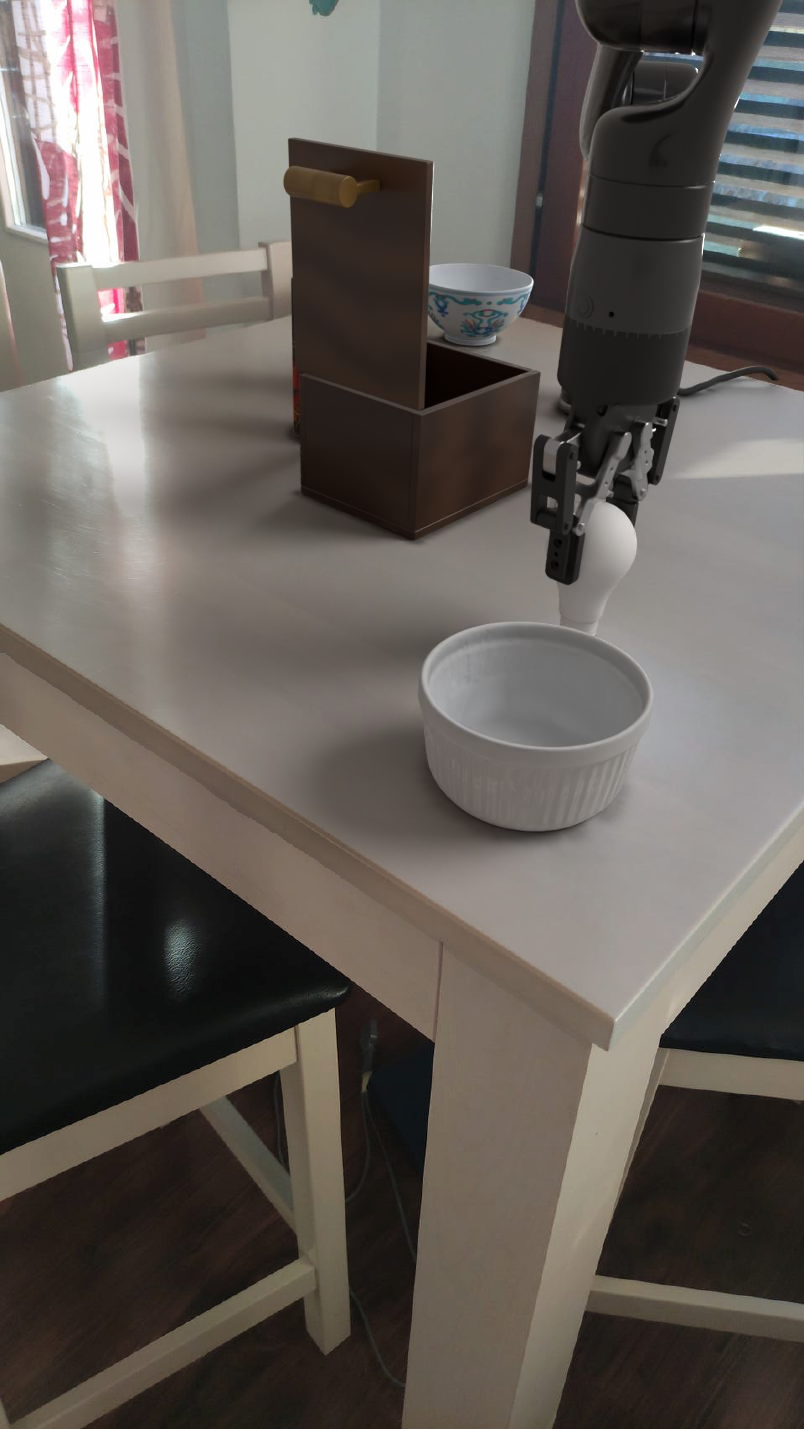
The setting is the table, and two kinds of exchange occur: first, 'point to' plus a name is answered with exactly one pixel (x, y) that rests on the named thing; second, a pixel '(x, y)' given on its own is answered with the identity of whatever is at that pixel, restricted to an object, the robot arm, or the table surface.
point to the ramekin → (531, 722)
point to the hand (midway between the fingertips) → (588, 562)
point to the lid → (361, 267)
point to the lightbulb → (597, 567)
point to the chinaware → (476, 300)
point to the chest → (420, 442)
